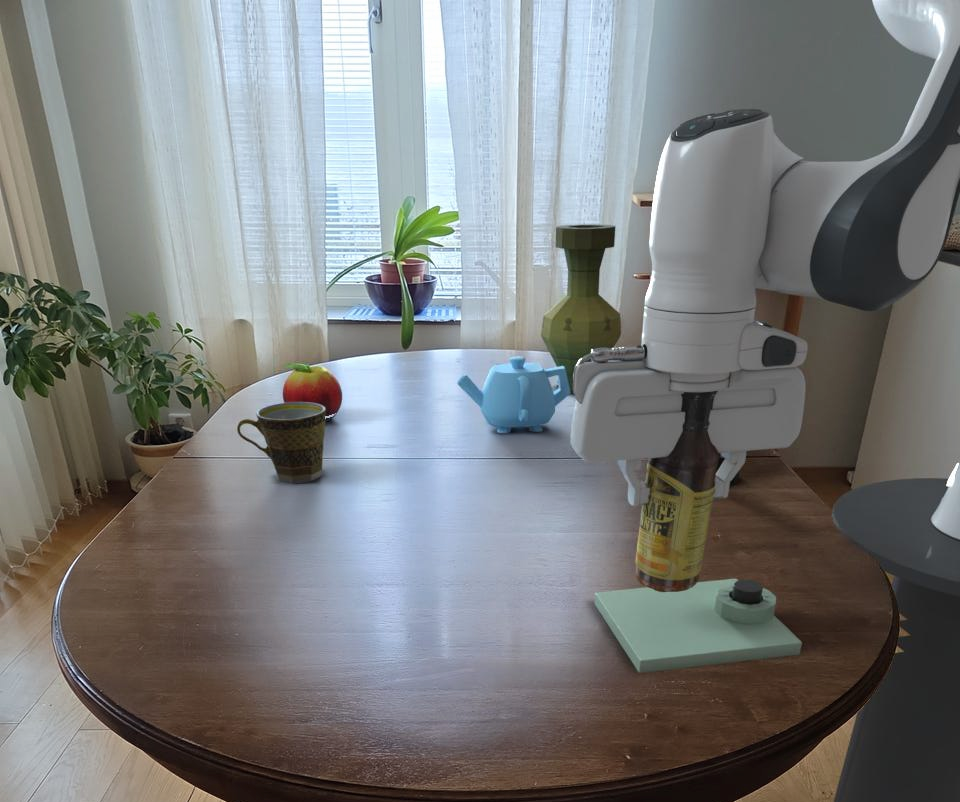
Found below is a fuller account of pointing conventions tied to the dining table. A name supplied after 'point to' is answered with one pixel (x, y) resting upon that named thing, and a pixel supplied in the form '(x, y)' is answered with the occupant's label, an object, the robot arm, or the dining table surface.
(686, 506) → the sauce bottle
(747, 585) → the button
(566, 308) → the vase
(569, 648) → the dining table surface
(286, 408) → the ceramic cup
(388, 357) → the dining table surface
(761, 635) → the green panel with knob
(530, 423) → the teapot
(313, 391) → the fruit
